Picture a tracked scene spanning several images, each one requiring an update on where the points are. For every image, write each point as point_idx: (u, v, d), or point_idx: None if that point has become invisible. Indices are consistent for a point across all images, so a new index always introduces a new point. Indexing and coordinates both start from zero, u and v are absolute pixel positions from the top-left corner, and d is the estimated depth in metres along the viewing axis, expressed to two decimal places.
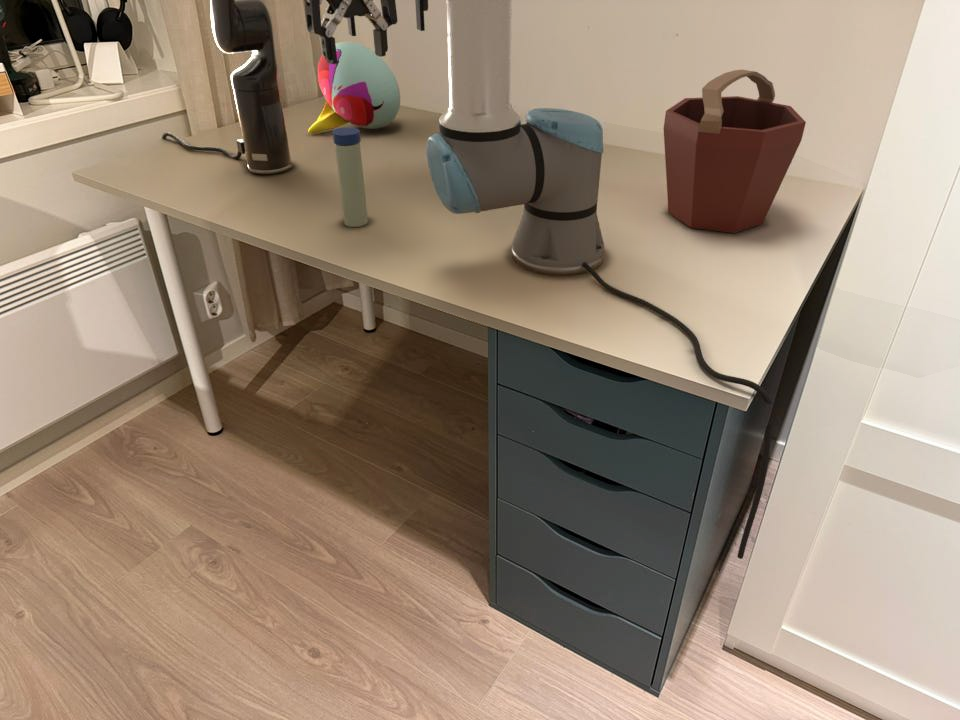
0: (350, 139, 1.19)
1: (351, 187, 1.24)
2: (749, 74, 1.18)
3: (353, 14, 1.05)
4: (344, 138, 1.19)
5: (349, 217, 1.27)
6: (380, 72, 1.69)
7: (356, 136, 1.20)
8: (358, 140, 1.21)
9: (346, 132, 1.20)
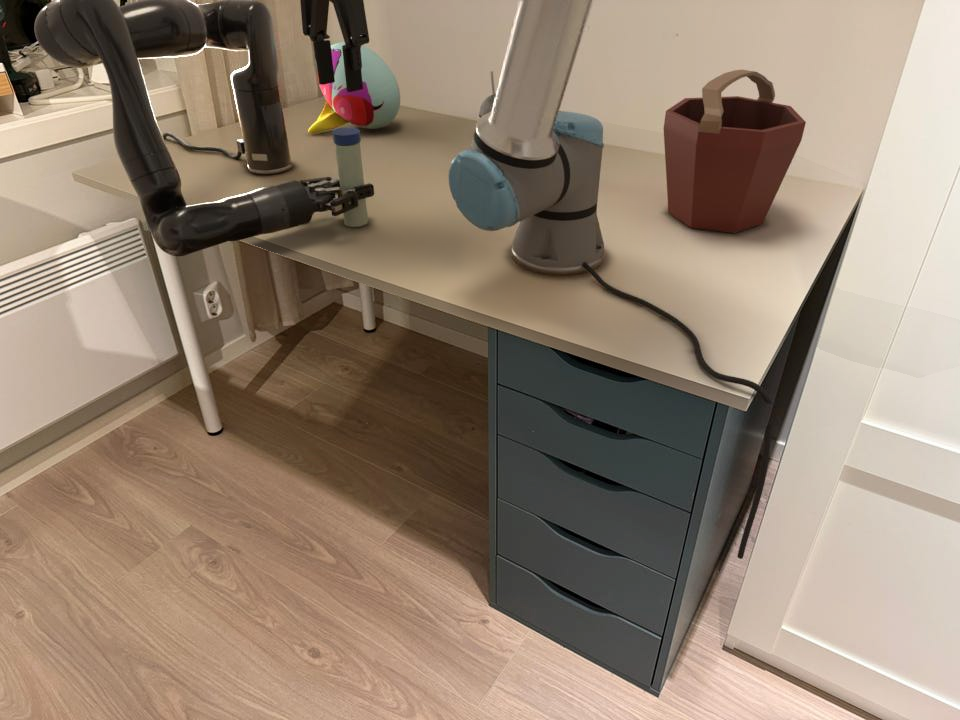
0: (350, 139, 1.19)
1: (351, 187, 1.24)
2: (749, 74, 1.18)
3: None
4: (344, 138, 1.19)
5: (349, 217, 1.27)
6: (380, 72, 1.69)
7: (356, 136, 1.20)
8: (358, 140, 1.21)
9: (346, 132, 1.20)
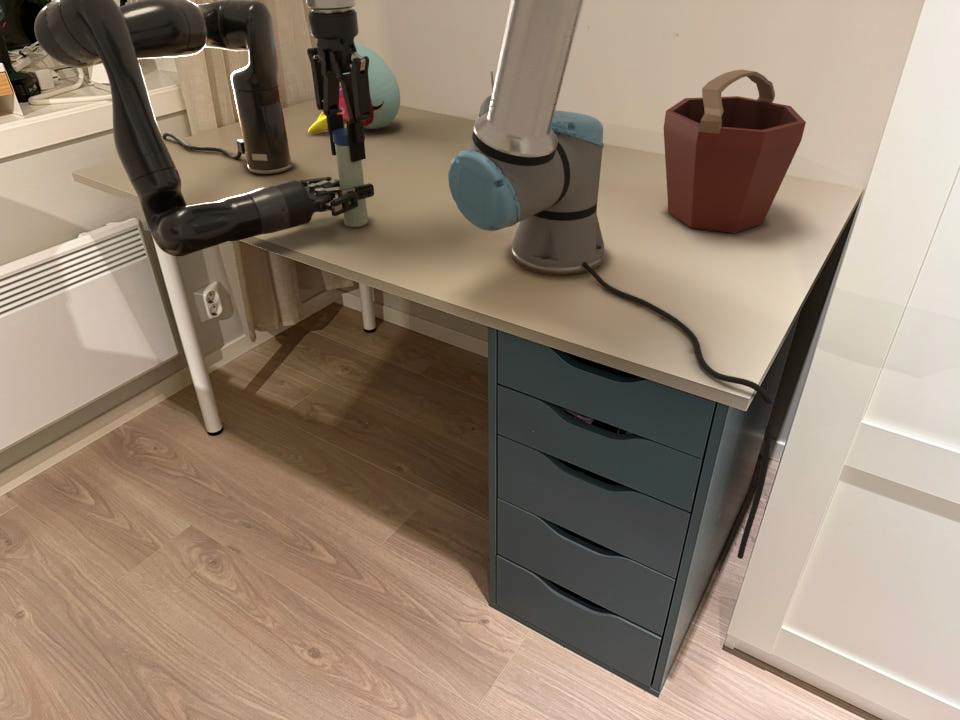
0: None
1: (351, 187, 1.24)
2: (749, 74, 1.18)
3: None
4: (344, 138, 1.19)
5: (349, 217, 1.27)
6: (380, 72, 1.69)
7: None
8: None
9: (346, 132, 1.20)
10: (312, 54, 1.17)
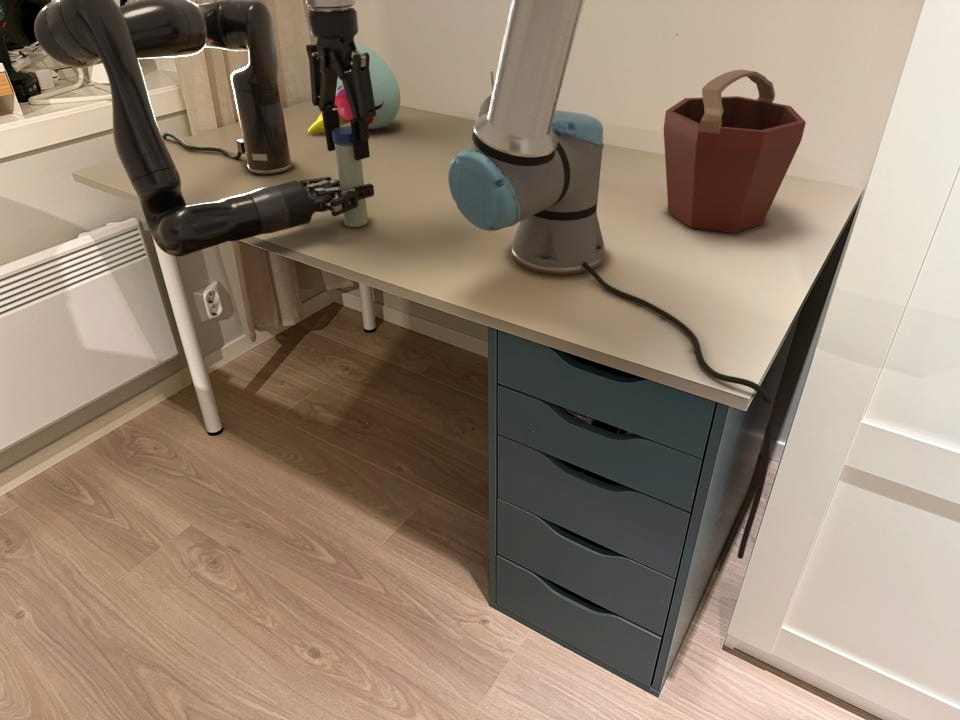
0: None
1: (351, 187, 1.24)
2: (749, 74, 1.18)
3: None
4: None
5: (349, 217, 1.27)
6: (380, 72, 1.69)
7: None
8: None
9: (349, 130, 1.21)
10: (311, 51, 1.16)
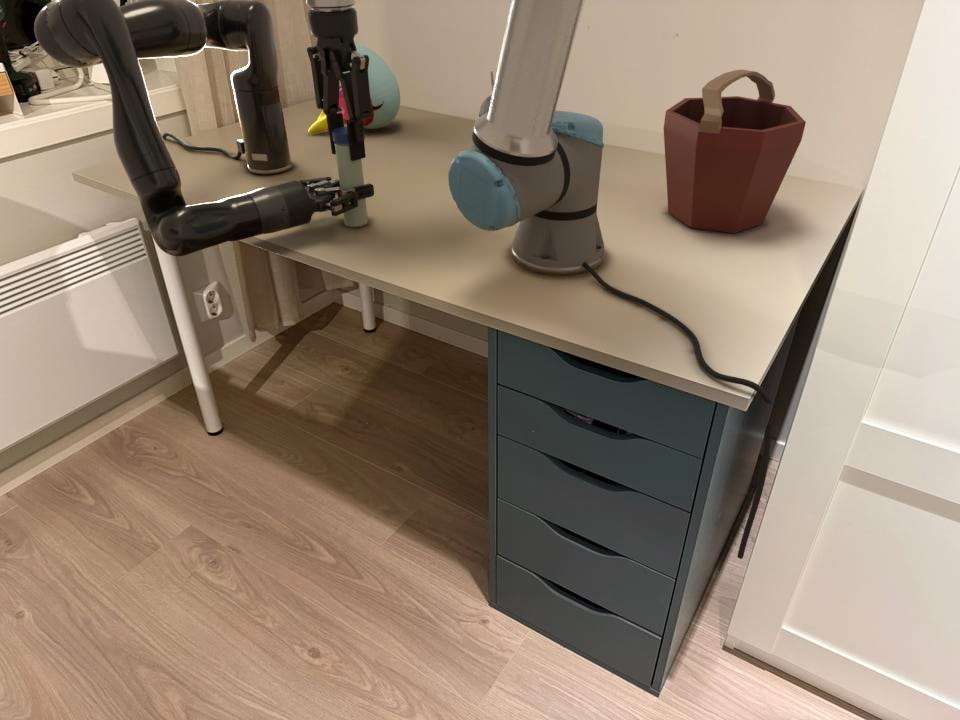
0: None
1: (351, 187, 1.24)
2: (749, 74, 1.18)
3: None
4: None
5: (349, 217, 1.27)
6: (380, 72, 1.69)
7: None
8: None
9: None
10: (312, 53, 1.16)
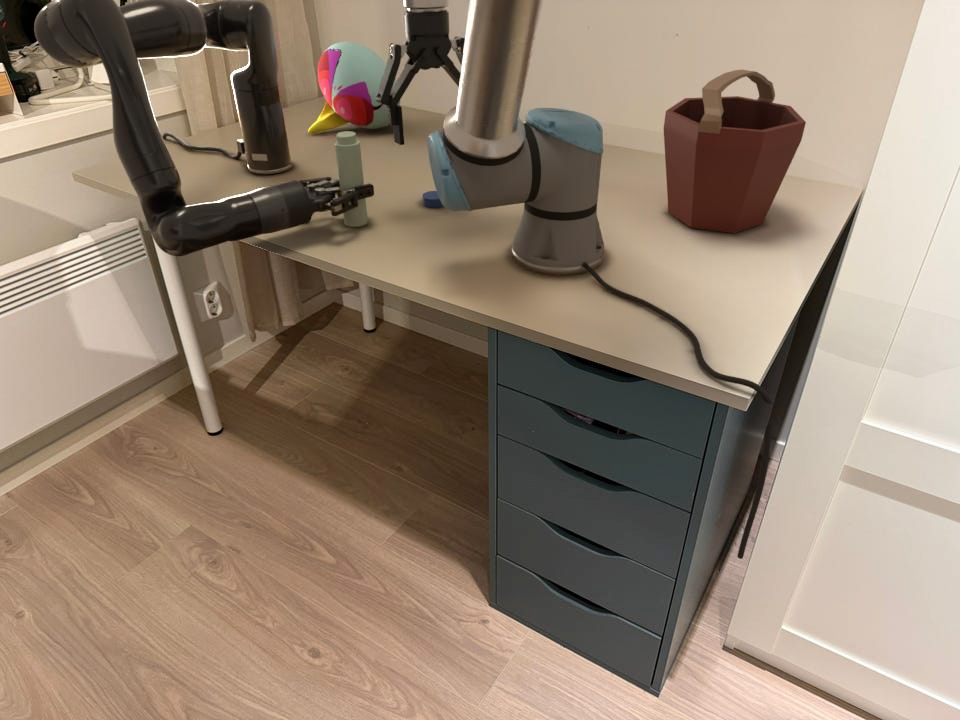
0: None
1: (351, 187, 1.24)
2: (749, 74, 1.18)
3: None
4: None
5: (349, 217, 1.27)
6: (380, 72, 1.69)
7: None
8: None
9: (435, 193, 1.37)
10: (400, 51, 1.18)
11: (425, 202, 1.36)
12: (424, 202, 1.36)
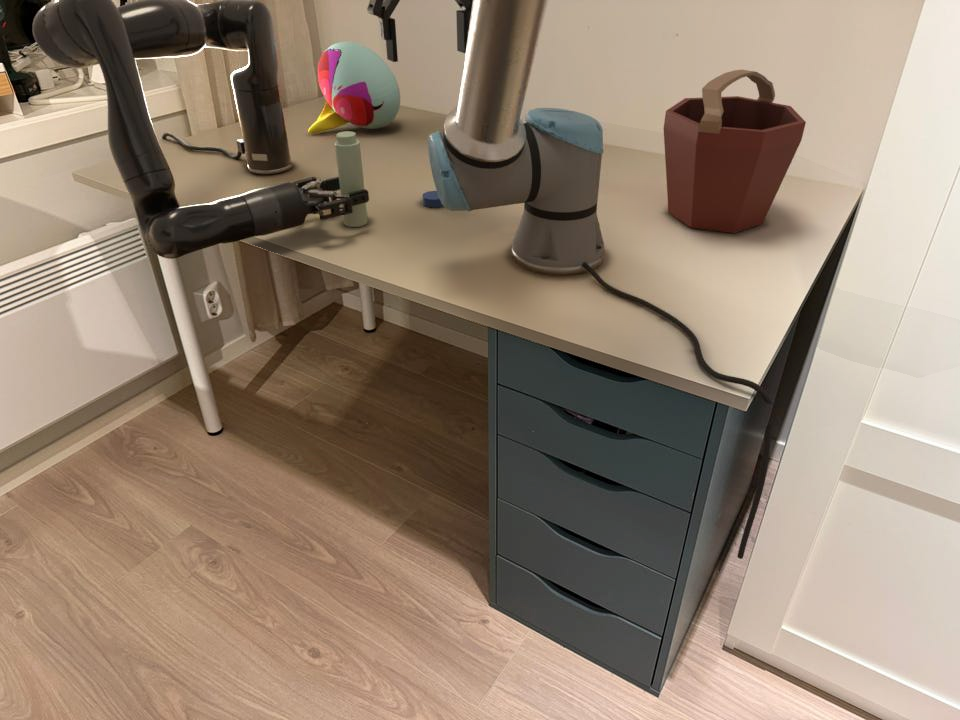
0: None
1: (351, 187, 1.24)
2: (749, 74, 1.18)
3: None
4: None
5: (349, 217, 1.27)
6: (380, 72, 1.69)
7: None
8: None
9: (435, 193, 1.37)
10: None
11: (425, 202, 1.36)
12: (424, 202, 1.36)
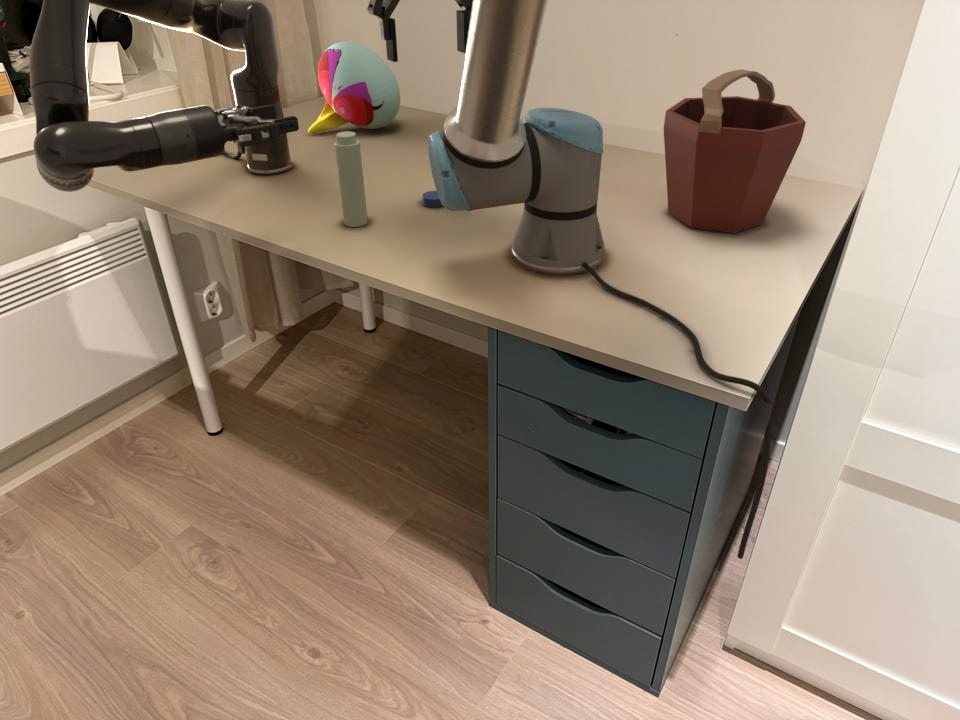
0: None
1: (351, 187, 1.24)
2: (749, 74, 1.18)
3: None
4: None
5: (349, 217, 1.27)
6: (380, 72, 1.69)
7: None
8: None
9: (435, 193, 1.37)
10: None
11: (425, 202, 1.36)
12: (424, 202, 1.36)
